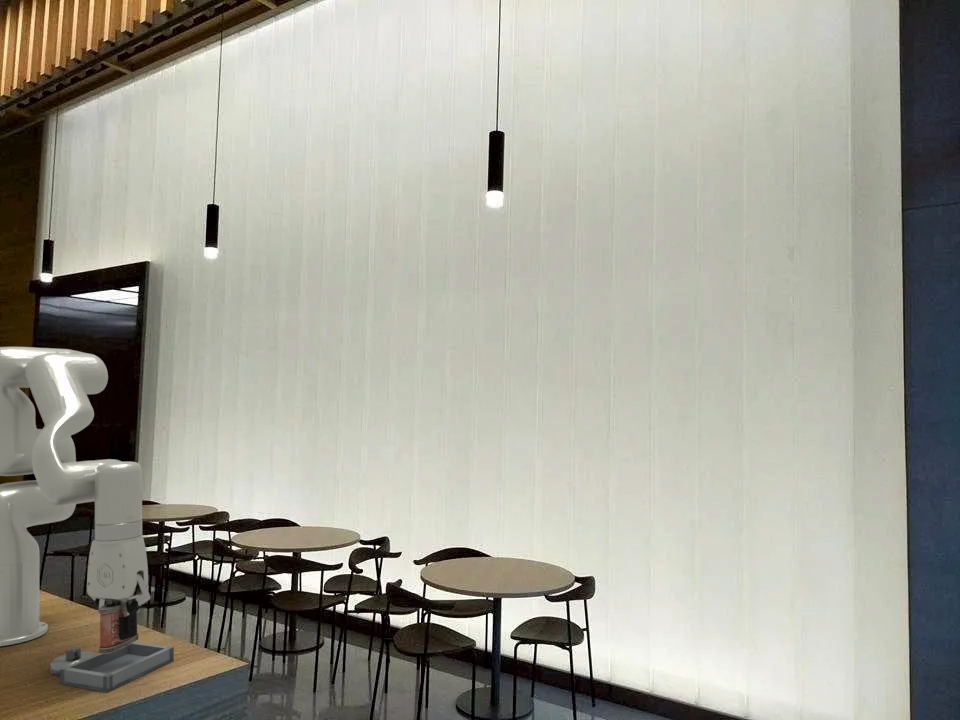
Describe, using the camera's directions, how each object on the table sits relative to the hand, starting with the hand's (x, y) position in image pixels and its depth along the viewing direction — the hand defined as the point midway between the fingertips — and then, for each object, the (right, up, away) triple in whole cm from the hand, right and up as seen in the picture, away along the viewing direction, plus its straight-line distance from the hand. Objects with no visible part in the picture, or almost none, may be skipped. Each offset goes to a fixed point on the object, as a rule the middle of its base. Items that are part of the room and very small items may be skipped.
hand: (119, 635), depth 121 cm
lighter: (0, -2, 0) cm, 2 cm away
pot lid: (-10, -7, +2) cm, 12 cm away
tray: (0, -6, 0) cm, 6 cm away
